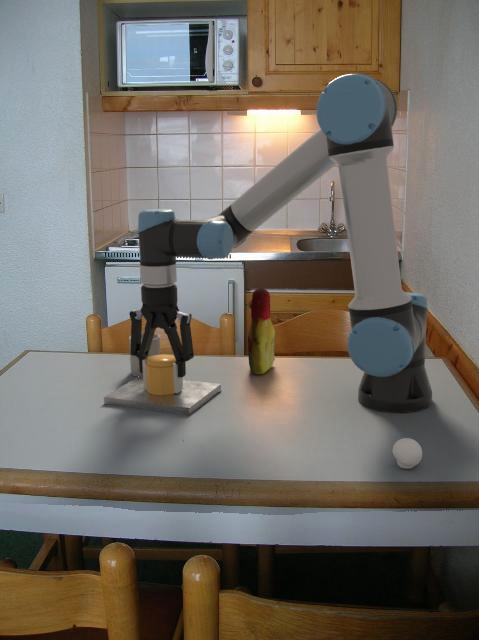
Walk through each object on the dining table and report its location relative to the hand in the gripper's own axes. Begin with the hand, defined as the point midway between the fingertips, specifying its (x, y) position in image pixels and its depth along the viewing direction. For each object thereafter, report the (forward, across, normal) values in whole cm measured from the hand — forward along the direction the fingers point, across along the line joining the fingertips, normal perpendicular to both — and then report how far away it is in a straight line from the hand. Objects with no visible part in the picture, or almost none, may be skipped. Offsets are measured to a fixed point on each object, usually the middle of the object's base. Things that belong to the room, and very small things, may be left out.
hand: (163, 389), depth 160 cm
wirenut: (0, 0, 0) cm, 0 cm away
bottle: (+2, -13, -25) cm, 28 cm away
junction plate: (+2, 0, 0) cm, 2 cm away
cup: (+2, +12, -13) cm, 18 cm away
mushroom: (+2, -55, +18) cm, 58 cm away
